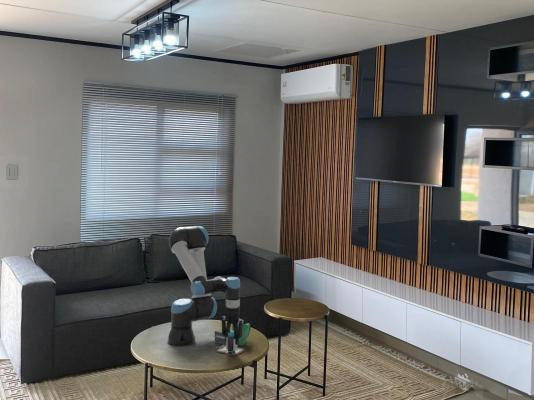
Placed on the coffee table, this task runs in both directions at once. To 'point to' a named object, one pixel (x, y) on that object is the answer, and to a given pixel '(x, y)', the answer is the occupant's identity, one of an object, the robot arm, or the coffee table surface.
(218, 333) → the gray bookend
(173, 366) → the coffee table surface
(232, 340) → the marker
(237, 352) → the clipboard
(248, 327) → the mug
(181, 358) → the coffee table surface
